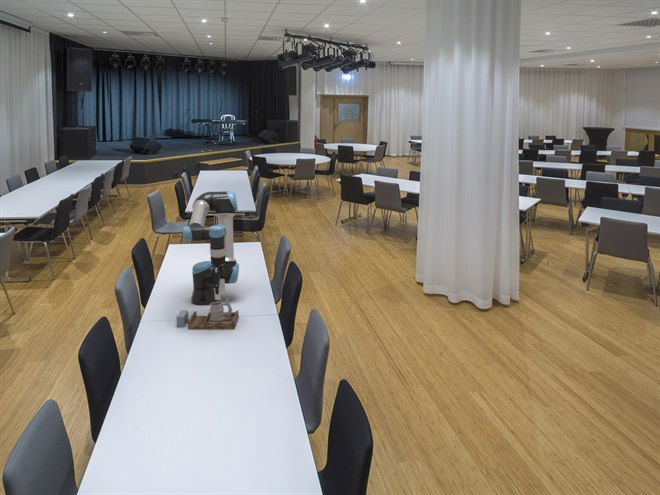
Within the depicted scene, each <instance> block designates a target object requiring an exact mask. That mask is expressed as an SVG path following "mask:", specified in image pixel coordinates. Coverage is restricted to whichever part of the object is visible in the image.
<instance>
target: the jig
mask: <svg viewBox="0 0 660 495" xmlns="http://www.w3.org/2000/svg"><path fill="white" fill-rule="evenodd" d="M227 312H228V311H226V313H227ZM210 317H211V311H209V312H208V313H207V315H197V311H193V312H192V314H191V315H190V316H189V321H188V323H187V330H235V329H236V327H237V324H238V322H239V319H240V317H239V310H235V311H232V314H231V316H230V318H229V317H228V316H225V319H224V321H223V322H211V320H210Z"/></svg>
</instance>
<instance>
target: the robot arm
mask: <svg viewBox="0 0 660 495" xmlns="http://www.w3.org/2000/svg"><path fill="white" fill-rule="evenodd" d="M236 196H237V195H236V193H235V192H234V191H229V190H228V191H206V192H204V193H202V194H200V195H199V196H197V197H196V198H195V200H194V201H193V203H192V212H191V218H190V221H189V224H188V226H183V227H182V228H183V229H182V240H183V241H187V242H196V241H199V242H200V241H209V253H210V254H209V255H210V261H209V260H207V261H206V260H205V261H200V262H197V263H195V264H194V265H193V266H192V270H191V271H192V272H191V273H192V282H193V285H192V286H193V290H192V293H191V297H190V301H191V303H192V304H193V305H196V306H207V305H210V304H211V303H212V302H217V301H220V300H221V291H222V292H223V291H226V285H227V284H228V285H230V284H236V283H237V282H238V280H239V273H240V264H239V263H237V259H235V255H234V253H235V251H234V216H235V215H236V212H239V211H238V209H239V208H238V203H237V202H238V201H237V197H236ZM209 212H210V213H211V212H212V213H213V212H214V214H215V216H216V217H217V224H215V225H208V226H207V225H205V222H206V218H207V214H208V213H209Z"/></svg>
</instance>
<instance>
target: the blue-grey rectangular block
mask: <svg viewBox="0 0 660 495" xmlns="http://www.w3.org/2000/svg"><path fill="white" fill-rule="evenodd" d="M175 317H176V318H175V320H176V321H175V322H176V327H177V328H185V327H186V325H188V321H189V319H190V316H189V310H183V309H181V310H179V312H178V313H177V315H176V316H175Z"/></svg>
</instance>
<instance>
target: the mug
mask: <svg viewBox="0 0 660 495" xmlns="http://www.w3.org/2000/svg"><path fill="white" fill-rule="evenodd" d="M209 305H210V306H209V307H210V308H209V312H211V317H210V320H211V322H223V321H224V319H225V316H228V317H229V318H230V316H231V314H232V312H233V308H232V305H231V303H230V301H229V298H228V297H227V298H226V300H225V302H222V301H219V300H217V301H216V302H212V303H211V304H209ZM224 306H226V307H227V308H228V309H227V310H228V311H226V312H227V313H226V312H225V308H224Z"/></svg>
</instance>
